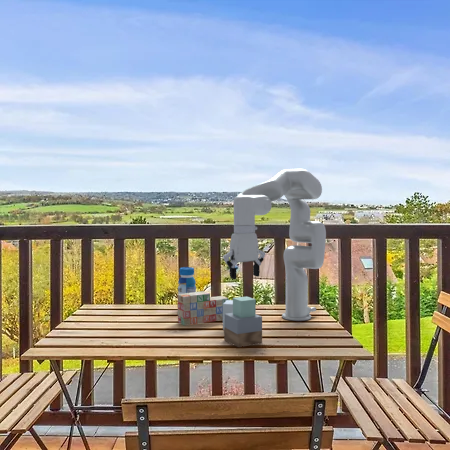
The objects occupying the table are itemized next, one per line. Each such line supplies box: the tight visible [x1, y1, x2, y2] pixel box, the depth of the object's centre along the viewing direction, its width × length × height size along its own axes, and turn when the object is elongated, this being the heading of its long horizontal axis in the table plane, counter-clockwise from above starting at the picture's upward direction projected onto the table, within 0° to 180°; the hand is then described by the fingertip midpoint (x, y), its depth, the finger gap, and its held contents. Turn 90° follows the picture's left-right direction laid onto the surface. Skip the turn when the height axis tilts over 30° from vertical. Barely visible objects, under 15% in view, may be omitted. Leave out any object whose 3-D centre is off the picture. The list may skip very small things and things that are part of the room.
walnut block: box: [223, 327, 263, 348], centre depth 167 cm, size 10×10×5 cm
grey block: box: [225, 313, 263, 334], centre depth 166 cm, size 10×10×5 cm
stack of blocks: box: [177, 290, 229, 326], centre depth 196 cm, size 21×6×12 cm, turn 119°
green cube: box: [232, 295, 257, 318], centre depth 166 cm, size 6×6×6 cm
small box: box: [222, 299, 233, 331], centre depth 185 cm, size 8×6×10 cm
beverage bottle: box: [177, 266, 197, 295], centre depth 214 cm, size 8×8×20 cm
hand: (244, 277), depth 166 cm, fingers open, 9 cm apart
